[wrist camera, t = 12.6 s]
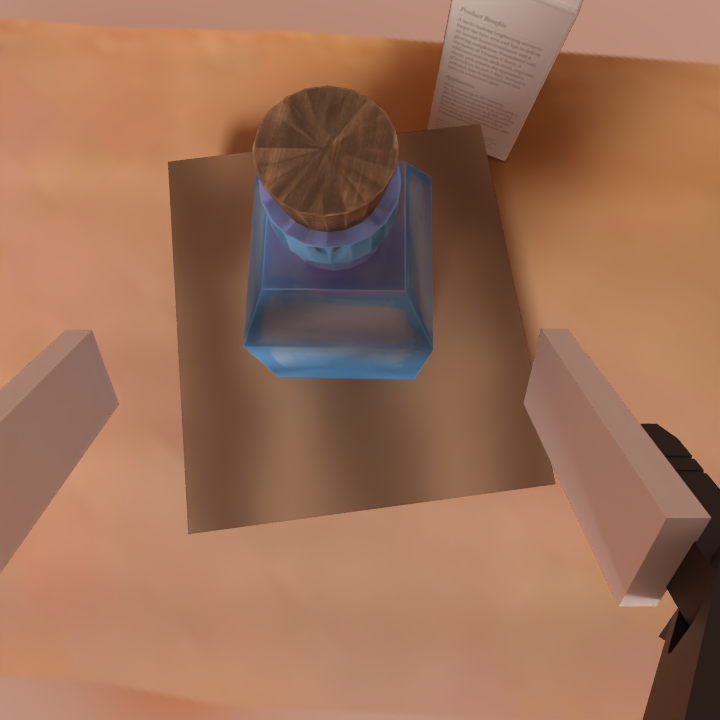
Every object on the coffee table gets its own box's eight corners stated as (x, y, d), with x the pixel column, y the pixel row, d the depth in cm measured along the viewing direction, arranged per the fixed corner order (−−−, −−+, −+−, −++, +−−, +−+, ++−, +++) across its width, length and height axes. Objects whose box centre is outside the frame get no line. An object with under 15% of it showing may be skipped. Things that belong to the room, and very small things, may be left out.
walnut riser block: (457, 189, 30) (480, 123, 24) (512, 477, 26) (555, 484, 20) (207, 220, 29) (168, 161, 24) (228, 515, 26) (188, 534, 20)
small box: (469, 37, 31) (521, -168, 21) (548, 66, 31) (641, -129, 20) (423, 133, 30) (453, -36, 20) (504, 165, 29) (580, 10, 19)
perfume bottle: (285, 250, 22) (195, 27, 11) (413, 252, 22) (466, 28, 11) (278, 377, 21) (168, 283, 9) (414, 379, 21) (473, 287, 9)
